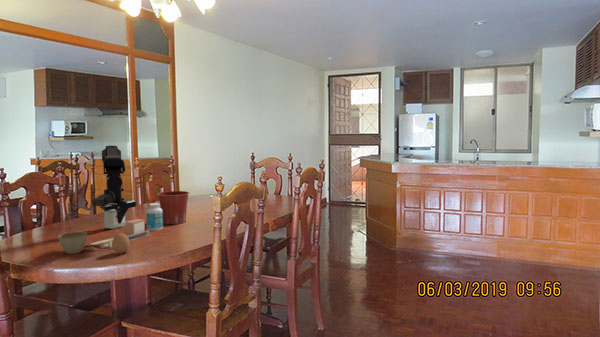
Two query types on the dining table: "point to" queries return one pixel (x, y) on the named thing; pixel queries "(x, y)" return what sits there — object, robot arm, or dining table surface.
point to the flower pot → (173, 206)
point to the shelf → (109, 241)
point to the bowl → (73, 241)
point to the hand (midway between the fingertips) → (115, 222)
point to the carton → (134, 226)
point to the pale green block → (112, 219)
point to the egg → (120, 243)
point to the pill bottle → (154, 217)
